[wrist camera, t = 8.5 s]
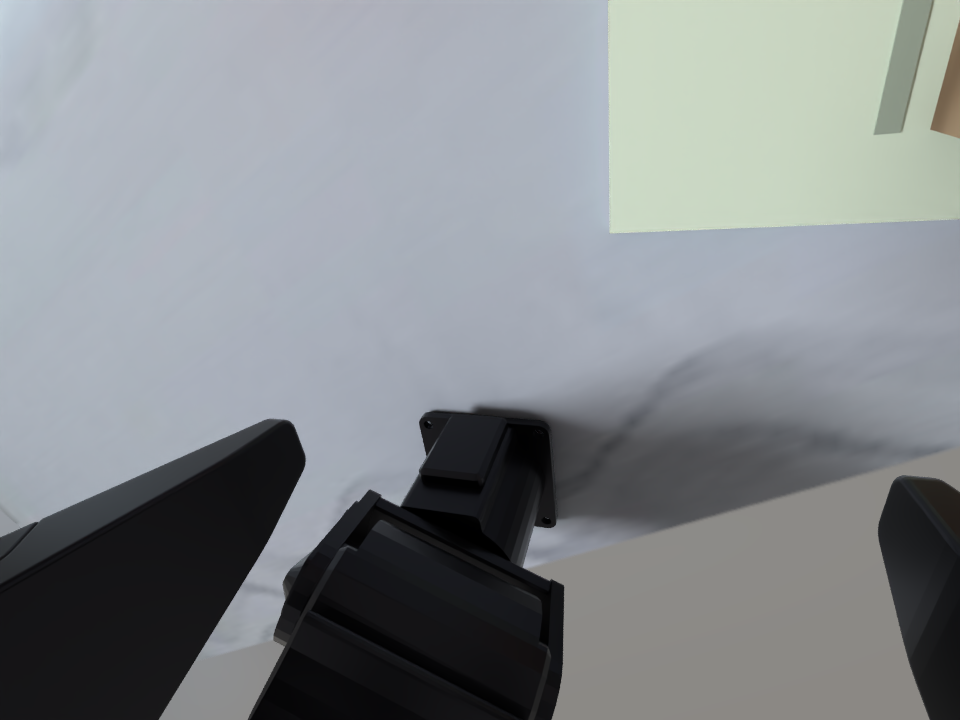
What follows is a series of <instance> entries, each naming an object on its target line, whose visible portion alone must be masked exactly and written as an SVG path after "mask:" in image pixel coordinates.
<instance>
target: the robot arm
mask: <svg viewBox="0 0 960 720" xmlns="http://www.w3.org/2000/svg"><path fill="white" fill-rule="evenodd" d="M428 421H430V422H431V423H432V424H433V425H432V424H430V423H428ZM419 425H420V429H421V434H422V438H423V443H424V447H425V451H426V456H427V457H426V459H425V461H424V462H423V464H422V466H421V467H420V469H419V475H418V476H417V478H416V480H415V482H414V483H413V485H412V487H411V488H410V490H409V492H408V494H407V495H406V497H405V499H404V500H403V502H402V504H401V506H400V507H399V506H397V505H395V504H393V503H391V502H389V501H387V500H385V499H383V498H381V496H382V495H380V494H378V493H376V492H374V491H372V490H369V491H368V492H367V493H366V494H365V495H364V497H363V498H362V499H361V500H360V501H359V502H358V501H356V502H355V503H354V504H353V505H352V506H351V507H350V508H349V510H346V512H345V513H344V515H343V516H342V518H341V519H340V520H339V521H338V522H337V524H336V525H335V526H334V527H333V528H332V529H331V531H330V532H329V533H328V534H327V535H326V536H325V538H324V539H323V540H322V541H321V542H320V543H319V544H318V546H317V547H316V548H315V549H314V550H313V551H312V552H310V553H309V554H308V555H307V556H306V557H304V558H303V559H302V560H301V561H299V562H298V563H297V564H296V565H295V566H293V567H292V568H291V569H290V571H289V572H288V574H287V575H286V577H285V579H284V581H283V589H284V595H285V603H284V605H283V608H282V611H281V616H280V618H279V621H278V623H277V626H276V629H275V632H274V641H275V642H277V643H280V644H281V645H283V646H285V648H284V650H283V652H282V654H281V656H280V657H279V659H278V661H277V663H276V665H275V667H274V669H273V671H272V673H271V675H270V677H269V679H268V681H267V683H266V685H265V686H264V688H263V691H262V693H261V695H260V696H259V698H258V700H257V702H256V704H255V706H254V708H253V710H252V712H251V714H250V716H249V718H248V720H551V719H552V716H553V713H554V709H555V706H556V702H557V698H558V694H559V689H560V683H561V677H562V665H563V619H564V585H562V584H560V583H558V582H556V581H554V580H552V579H551V580H550V581H549V580H547V579H544V578H543V577H541V576H538V575H536V574H534V573H532V572H530V571H528V570H526V569H524V568H522V567H523V564H524V560H525V556H526V553H527V549H528V546H529V542H530V538H531V535H532V531H533V528H534V526H537V527H544V528H552V527H554V526H555V525H556V521H557V503H556V490H555V477H554V464H553V451H552V438H551V429H550V426H549V425H548V424H547V423H545V422H544V421H540V420H527V419H514V418H502V417H492V416H479V415H466V414H448V413H435V412H426V413H425V414H424V415H423V416H422V418H421V419H420V421H419ZM535 430H540V431H542V432H543V433H542V434H540V433H537V432H536V431H535ZM305 462H306V458H305V453H304V451H303V448H302V445H301V443H300V440H299V437H298V434H297V432H296V429H295V427H294V425H293V424H292V423H291V422H290V421H288V420H282V419H267V420H264V421H262V422H259V423H257V424H255V425H253V426H250V427H248V428H246V429H244V430H241V431H239V432H237V433H235V434H232V435H230V436H228V437H226V438H223V439H221V440H219V441H217V442H214V443H212V444H210V445H208V446H205V447H203V448H201V449H199V450H196V451H194V452H192V453H190V454H187V455H185V456H183V457H181V458H178V459H176V460H174V461H172V462H169V463H167V464H165V465H163V466H160V467H158V468H156V469H154V470H151V471H149V472H147V473H145V474H142V475H140V476H138V477H136V478H133V479H131V480H129V481H127V482H124V483H122V484H120V485H118V486H115V487H113V488H111V489H109V490H106V491H104V492H102V493H100V494H97V495H95V496H93V497H91V498H88V499H86V500H84V501H82V502H79V503H77V504H75V505H73V506H70V507H68V508H66V509H64V510H61V511H59V512H57V513H54V514H52V515H50V516H48V517H45V518H43V519H42V520H41V521H40V522H34V523H32V524H29V525H27V526H25V527H23V528H20V529H18V530H16V531H14V532H11V533H9V534H7V535H5V536H2V537H0V720H159V718H160V716H161V715H162V713H163V712H164V710H165V708H166V707H167V705H168V703H169V702H170V700H171V698H172V697H173V695H174V694H175V692H176V690H177V689H178V687H179V686H180V684H181V682H182V681H183V679H184V677H185V676H186V674H187V673H188V671H189V669H190V668H191V666H192V664H193V663H194V661H195V660H196V658H197V656H198V655H199V653H200V652H201V650H202V648H203V647H204V645H205V643H206V642H207V640H208V639H209V637H210V635H211V634H212V632H213V630H214V629H215V627H216V626H217V624H218V622H219V621H220V619H221V617H222V616H223V614H224V613H225V611H226V609H227V608H228V606H229V604H230V603H231V601H232V600H233V598H234V596H235V595H236V593H237V592H238V590H239V588H240V587H241V585H242V583H243V582H244V580H245V579H246V577H247V575H248V574H249V572H250V570H251V569H252V567H253V566H254V564H255V562H256V561H257V559H258V557H259V556H260V554H261V552H262V551H263V549H264V547H265V546H266V544H267V542H268V540H269V538H270V536H271V534H272V533H273V531H274V529H275V527H276V525H277V523H278V521H279V518H280V516H281V514H282V512H283V510H284V508H285V506H286V504H287V502H288V500H289V498H290V496H291V494H292V492H293V490H294V488H295V486H296V484H297V482H298V480H299V478H300V476H301V474H302V472H303V470H304V467H305ZM545 517H547V518H545ZM548 518H549V519H548ZM878 537H879V543H880V547H881V552H882V556H883V560H884V564H885V568H886V572H887V576H888V580H889V584H890V588H891V593H892V596H893V601H894V605H895V609H896V613H897V617H898V622H899V626H900V630H901V634H902V638H903V642H904V645H905V649H906V653H907V657H908V660H909V663H910V667H911V669H912V672H913V675H914V678H915V681H916V684H917V687H918V690H919V692H920V695H921V697H922V700H923V703H924V706H925V708H926V711H927V713H928V716H929V719H930V720H960V492H959V491H957V490H956V489H955V488H953V487H952V486H950V485H949V484H947V483H945V482H944V481H942V480H940V479H936V478H928V477H916V476H906V475H903V476H899V477H897V478H896V479H895V480H894V481H893V483H892V485H891V488H890V491H889V494H888V497H887V500H886V504H885V506H884V509H883V512H882V515H881V518H880V521H879V527H878Z"/></svg>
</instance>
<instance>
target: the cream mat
mask: <svg viewBox="0 0 960 720" xmlns="http://www.w3.org/2000/svg"><path fill="white" fill-rule="evenodd" d="M959 20H960V0H608V58H609V206H610V233H634V232H658V231H683V230H708V229H732V228H757V227H782V226H806V225H831V224H856V223H880V222H905V221H930V220H955V219H960V138H956V137H953V136H950V135H946V134H943V133H940V132H936V131H933V130H930V128H931V124H932V120H933V116H934V113H935V109H936V105H937V102H938V98H939V94H940V90H941V87H942V83H943V79H944V76H945V72H946V68H947V64H948V61H949V57H950V53H951V50H952V46H953V42H954V38H955V35H956V31H957V27H958V24H959Z"/></svg>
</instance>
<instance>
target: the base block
mask: <svg viewBox="0 0 960 720" xmlns="http://www.w3.org/2000/svg"><path fill="white" fill-rule="evenodd" d="M930 130H933V131H936V132H940V133H943V134H946V135H950V136H953V137H956V138H960V20H959V24H958V27H957V31H956V35H955V38H954V42H953V46H952V50H951V53H950V57H949V61H948V64H947V68H946V72H945V76H944V79H943V83H942V87H941V90H940V94H939V98H938V102H937V105H936V109H935V113H934V116H933V120H932V124H931V128H930Z"/></svg>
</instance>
